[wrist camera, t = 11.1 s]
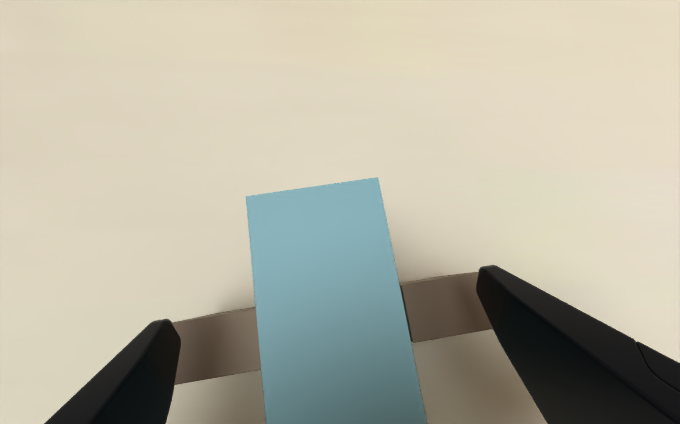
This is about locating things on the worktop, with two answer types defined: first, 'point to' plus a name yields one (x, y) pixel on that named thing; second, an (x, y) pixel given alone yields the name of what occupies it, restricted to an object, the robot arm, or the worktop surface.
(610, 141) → the worktop surface
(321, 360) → the teal plate
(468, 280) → the brown stepped bar
